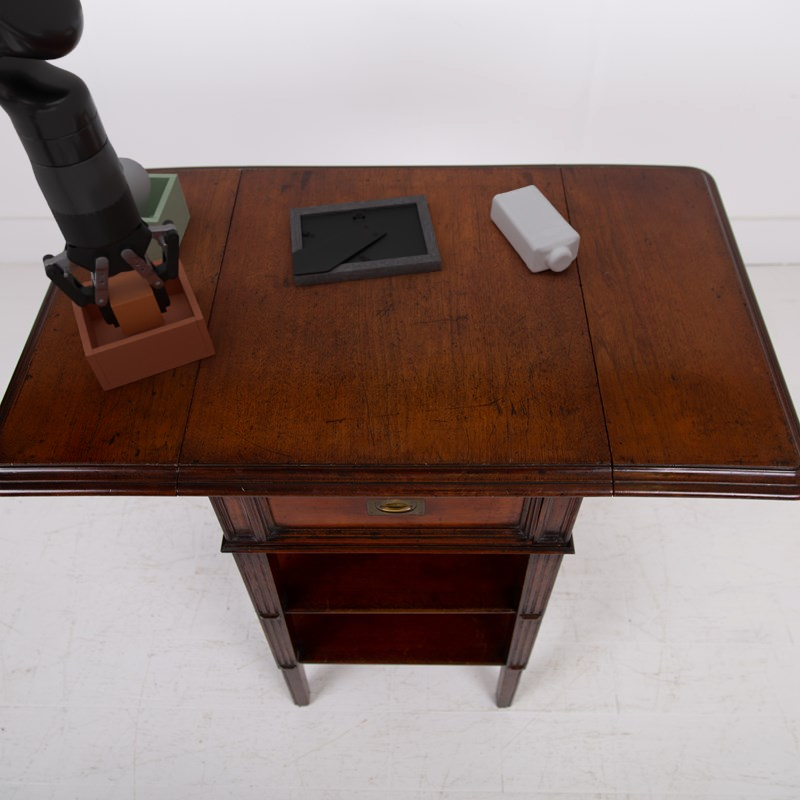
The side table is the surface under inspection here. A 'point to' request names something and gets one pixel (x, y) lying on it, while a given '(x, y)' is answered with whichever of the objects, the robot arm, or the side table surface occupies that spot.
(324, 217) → the picture frame
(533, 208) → the white bottle
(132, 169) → the lightbulb
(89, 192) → the robot arm
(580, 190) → the side table surface
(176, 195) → the sage bin
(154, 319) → the block
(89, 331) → the terracotta bin
